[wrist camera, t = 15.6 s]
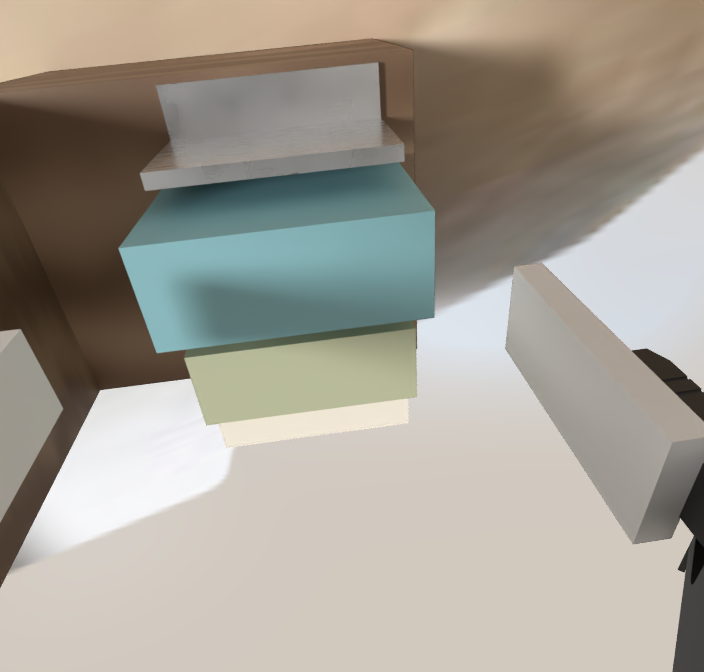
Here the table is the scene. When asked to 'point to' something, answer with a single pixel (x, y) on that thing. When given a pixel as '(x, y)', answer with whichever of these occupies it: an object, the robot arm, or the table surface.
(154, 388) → the table surface
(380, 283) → the teal book
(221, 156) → the bookend
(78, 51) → the table surface
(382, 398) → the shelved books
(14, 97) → the walnut shelf
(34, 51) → the table surface
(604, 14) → the table surface
